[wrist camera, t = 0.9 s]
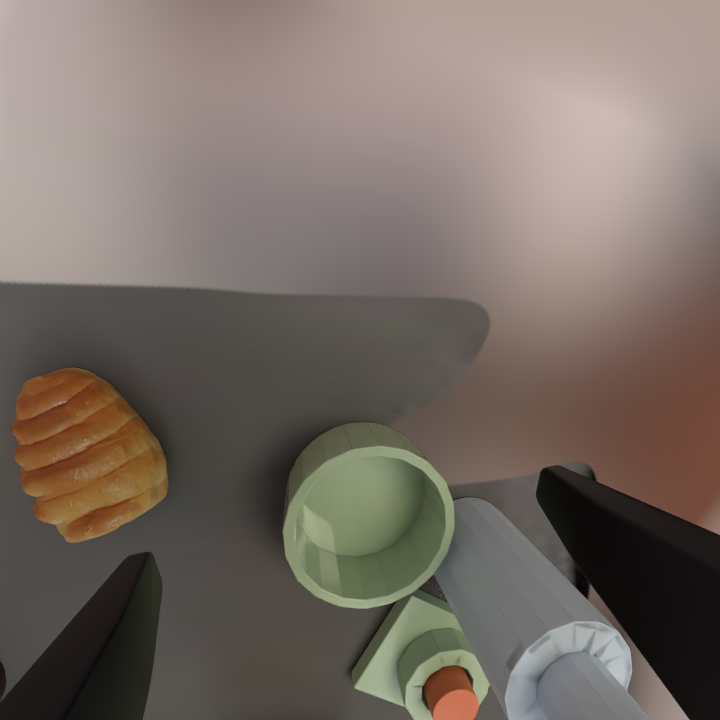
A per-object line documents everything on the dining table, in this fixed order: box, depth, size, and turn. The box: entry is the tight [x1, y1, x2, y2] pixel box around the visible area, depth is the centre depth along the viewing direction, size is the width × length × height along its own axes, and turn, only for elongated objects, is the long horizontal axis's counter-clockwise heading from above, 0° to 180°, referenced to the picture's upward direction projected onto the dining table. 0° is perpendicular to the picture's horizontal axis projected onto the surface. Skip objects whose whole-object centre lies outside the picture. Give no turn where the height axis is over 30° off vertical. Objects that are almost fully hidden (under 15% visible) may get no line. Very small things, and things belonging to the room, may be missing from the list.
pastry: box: [12, 367, 168, 543], centre depth 21 cm, size 9×7×4 cm
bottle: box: [434, 497, 651, 720], centre depth 21 cm, size 6×6×14 cm
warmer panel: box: [351, 589, 490, 720], centre depth 27 cm, size 8×10×3 cm
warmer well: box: [283, 422, 455, 609], centre depth 24 cm, size 10×10×4 cm
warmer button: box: [424, 665, 479, 720], centre depth 25 cm, size 3×3×2 cm
